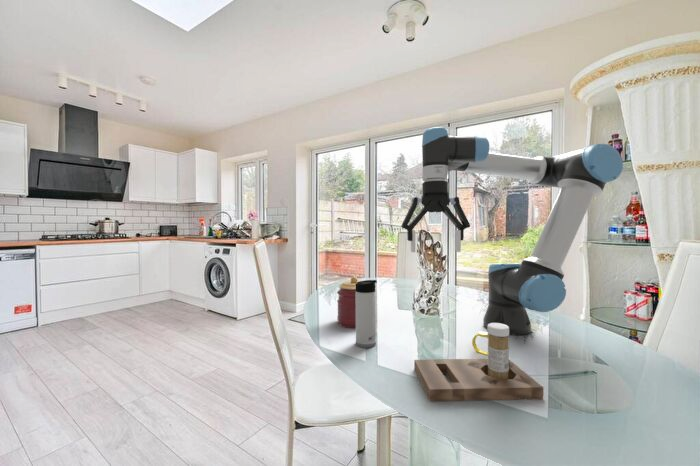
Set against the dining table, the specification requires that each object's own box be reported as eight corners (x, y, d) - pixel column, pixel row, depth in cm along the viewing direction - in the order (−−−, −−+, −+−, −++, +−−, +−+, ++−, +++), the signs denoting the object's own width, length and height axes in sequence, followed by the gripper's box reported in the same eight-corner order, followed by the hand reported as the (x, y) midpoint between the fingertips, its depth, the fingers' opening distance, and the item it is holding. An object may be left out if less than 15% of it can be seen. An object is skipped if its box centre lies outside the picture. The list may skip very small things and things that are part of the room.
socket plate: (507, 367, 78) (507, 358, 78) (543, 398, 64) (543, 387, 64) (414, 369, 77) (414, 359, 77) (429, 401, 63) (429, 389, 63)
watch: (471, 353, 88) (470, 332, 88) (475, 350, 90) (474, 329, 90) (493, 357, 84) (491, 336, 84) (496, 354, 86) (495, 333, 86)
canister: (377, 320, 117) (377, 275, 117) (360, 331, 106) (360, 280, 106) (349, 315, 124) (348, 272, 124) (330, 324, 113) (330, 277, 113)
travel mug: (375, 349, 90) (375, 282, 90) (354, 347, 92) (353, 281, 91) (378, 341, 97) (377, 278, 96) (357, 339, 98) (357, 278, 97)
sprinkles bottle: (496, 375, 74) (496, 321, 74) (513, 384, 70) (513, 326, 69) (482, 380, 72) (483, 323, 72) (499, 389, 68) (500, 329, 67)
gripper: (396, 179, 87) (396, 253, 88) (481, 179, 88) (481, 252, 88) (392, 183, 95) (392, 251, 95) (471, 182, 95) (471, 250, 96)
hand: (435, 251), depth 92 cm, fingers open, 13 cm apart
